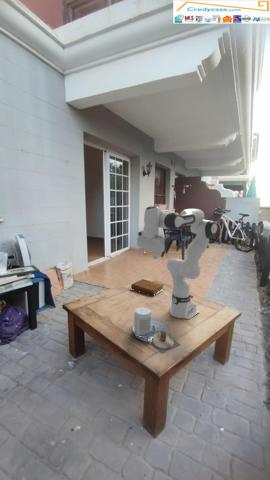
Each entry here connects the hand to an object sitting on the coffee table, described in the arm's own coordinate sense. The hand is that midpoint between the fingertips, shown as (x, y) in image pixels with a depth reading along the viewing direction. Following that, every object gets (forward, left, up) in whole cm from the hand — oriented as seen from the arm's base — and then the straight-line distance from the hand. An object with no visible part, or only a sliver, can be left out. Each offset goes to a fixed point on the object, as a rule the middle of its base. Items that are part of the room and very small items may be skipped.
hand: (149, 256), depth 130 cm
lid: (+2, +18, -44) cm, 48 cm away
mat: (+2, +18, -45) cm, 49 cm away
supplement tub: (+7, +5, -45) cm, 46 cm away
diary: (-37, -48, -46) cm, 76 cm away
